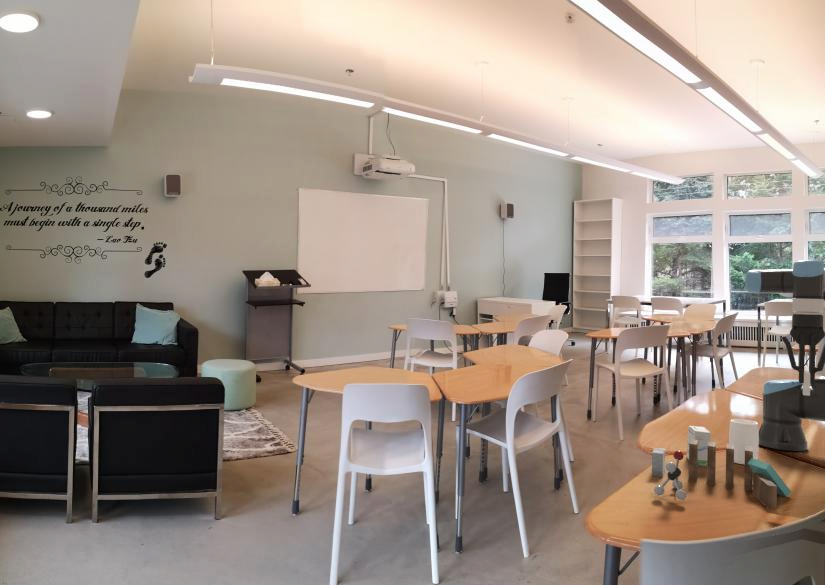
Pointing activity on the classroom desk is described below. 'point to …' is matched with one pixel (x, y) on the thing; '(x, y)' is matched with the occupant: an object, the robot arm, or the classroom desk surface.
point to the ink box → (699, 442)
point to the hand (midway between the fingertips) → (806, 394)
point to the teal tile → (769, 475)
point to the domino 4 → (748, 469)
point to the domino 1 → (693, 460)
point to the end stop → (658, 462)
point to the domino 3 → (730, 465)
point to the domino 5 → (765, 490)
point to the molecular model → (673, 477)
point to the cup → (743, 438)
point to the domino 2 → (711, 463)
